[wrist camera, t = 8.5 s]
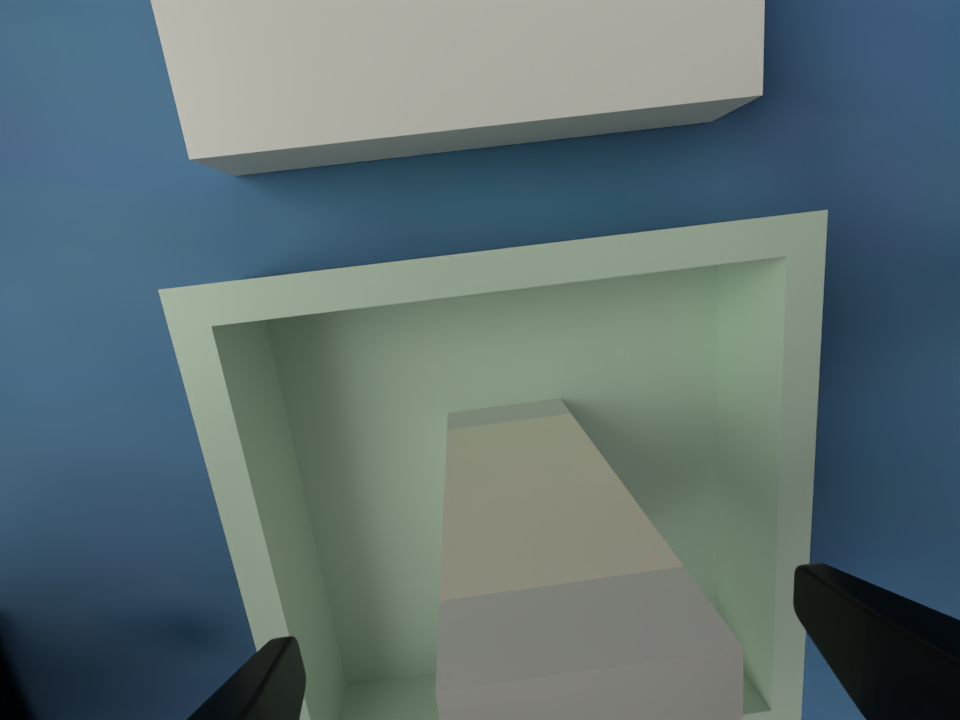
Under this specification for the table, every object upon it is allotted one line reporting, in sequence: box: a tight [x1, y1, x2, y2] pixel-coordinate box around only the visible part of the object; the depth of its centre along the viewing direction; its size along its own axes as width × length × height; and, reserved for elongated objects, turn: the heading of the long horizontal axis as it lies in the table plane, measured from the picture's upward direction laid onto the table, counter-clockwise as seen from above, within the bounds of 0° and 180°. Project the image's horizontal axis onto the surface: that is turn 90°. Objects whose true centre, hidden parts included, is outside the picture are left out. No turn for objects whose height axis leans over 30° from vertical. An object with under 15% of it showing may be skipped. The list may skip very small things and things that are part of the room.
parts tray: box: [158, 210, 828, 720], centre depth 12 cm, size 13×13×3 cm
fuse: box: [435, 398, 744, 720], centre depth 9 cm, size 5×3×8 cm, turn 7°
